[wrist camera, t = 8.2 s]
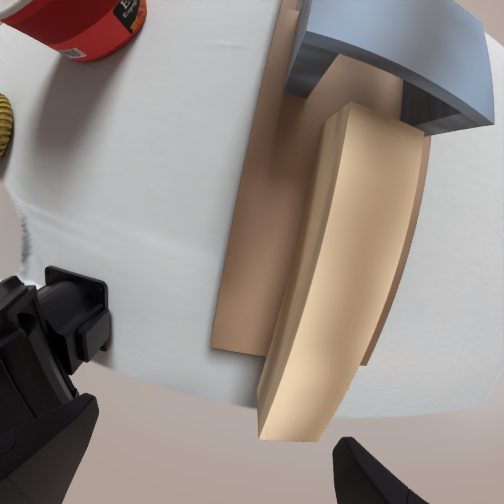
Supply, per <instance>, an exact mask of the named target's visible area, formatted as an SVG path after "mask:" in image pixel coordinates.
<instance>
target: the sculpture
mask: <svg viewBox="0 0 504 504" xmlns="http://www.w3.org/2000/svg"><path fill="white" fill-rule="evenodd" d="M12 116H13V114H12V108H11V104H10V102H9V100H8V99H7V98H6V96H4V95H2V94H1V93H0V158H1V157H2V155H3V153H4V151H5V149H6V146H7V144H8V143H7V142H8V141H9V137H7V136H5V135H11V132H10V131H11V129H12V123H13V121H12V118H13V117H12Z"/></svg>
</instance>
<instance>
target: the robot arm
mask: <svg viewBox="0 0 504 504" xmlns="http://www.w3.org/2000/svg"><path fill="white" fill-rule="evenodd" d="M49 270H50V271H49ZM50 272H51V273H50ZM45 282H46V285H45V286H43V287H42V288H40V289H38V290H37V289H36V285H29V286H24V283H22V282H21V281H20V280H19V278H18V277H17V276H11V277H9V278H7V279H5V280H3V281H1V282H0V504H62V502H63V499H64V497H65V495H66V493H67V490H68V488H69V486H70V483H71V481H72V479H73V477H74V475H75V472H76V470H77V468H78V466H79V464H80V462H81V460H82V458H83V456H84V454H85V451H86V449H87V447H88V444H89V442H90V439H91V436H92V433H93V430H94V427H95V424H96V421H97V418H98V415H99V408H98V404H97V399H96V397H95V396H93V395H91V394H88V393H84V394H82V395H80V396H79V393H78V391H77V389H76V388H75V387H74V385H73V383H72V381H71V380H70V378H69V376H68V375H72V374H74V372H75V371H76V370H77V369H78V367H79V366H80V365H81V364H82V362H83V361H84V362H86V363H87V362H89V361H90V360H91V359H92V357H93V356H94V355H95V354H96V353H97V351H98V350H101V351H106V350H107V349H108V348H109V337H110V324H109V310H108V308H107V285H106V283H105V282H104V281H101V280H98V279H94V278H91V277H87V276H84V275H80V274H77V273H73V272H70V271H67V270H64V269H60V268H57V267H54V266H48V267H46V268H45ZM99 285H100V286H101V287H102V289H100V287H99ZM103 345H104V346H105V347H104V346H103ZM332 455H333V471H334V486H335V492H336V498H337V504H429V503H427V502H426V501H424V500H423V499H422V498H420V497H419V496H418V495H417V494H415V493H414V492H413V491H412V490H410V489H408V487H407V486H406V485H405V484H404V483H402V482H401V481H400V480H399V479H398V478H397V477H395V476H394V475H393V474H392V473H391V472H390V471H389V470H388V469H387V468H385V467H384V466H383V465H382V464H381V463H380V462H379V461H378V460H377V459H375V458H374V457H373V456H372V455H371V454H370V453H369V452H368V451H367V450H366V449H365V448H364V447H363V446H362V445H361V444H360V443H358V442H357V441H356V440H355V439H354V438H353V437H342V438H341V439H340V440H339V442H338V443H337V445H336V446H335V447H334V449H333V453H332Z"/></svg>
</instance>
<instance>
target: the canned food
mask: <svg viewBox="0 0 504 504" xmlns="http://www.w3.org/2000/svg"><path fill="white" fill-rule="evenodd" d="M146 14H147V7H146V0H0V21H1V22H4V23H5V24H7V25H9V26H11V27H13V28H15V29H17V30H19V31H21V32H23V33H25V34H27V35H28V36H30V37H32V38H34V39H36V40H38V41H40V42H41V43H43V44H45V45H47V46H49V47H50V48H52V49H54V50H56V51H57V52H59V53H61V54H63V55H64V56H66V57H68V58H70V59H72V60H74V61H84V62H89V61H95V60H99V59H102V58H104V57H106V56H109V55H110V54H112V53H114V52H116V51H117V50H119V49H120V48H121V47H123V46H124V45H125V44H126V43H128V42H129V41H130V40H131V39H132V38H133V37H134V36H135V35H136V34H137V32H138V31H139V29H140V28H141V27H142V25H143V23H144V21H145V18H146Z"/></svg>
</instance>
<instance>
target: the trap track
mask: <svg viewBox="0 0 504 504" xmlns="http://www.w3.org/2000/svg"><path fill="white" fill-rule="evenodd" d="M349 102H353V103H356V104H359V105H362V106H365V107H367V108H370V109H373V110H375V111H378V112H380V113H383V114H385V115H387V116H390V117H392V118H395V119H397V120H399V121H401V122H404V123H406V124H408V125H410V126H412V127H414V128H417V129H419V130H421V131H423V132H424V141H423V149H422V157H421V164H420V170H419V176H418V182H417V188H416V193H415V198H414V203H413V208H412V212H411V217H410V221H409V225H408V229H407V233H406V237H405V241H404V245H403V248H402V252H401V255H400V259H399V262H398V266H397V269H396V272H395V275H394V278H393V281H392V285H391V288H390V290H389V293H388V296H387V299H386V302H385V305H384V307H383V310H382V313H381V315H380V318H379V321H378V323H377V326H376V328H375V331H374V333H373V336H372V338H371V340H370V343H369V345H368V347H367V350H366V352H365V354H364V356H363V359H362V361H361V363H360V365H362V366H366V365H367V363H368V361H369V359H370V357H371V354H372V352H373V350H374V348H375V346H376V343H377V341H378V339H379V336H380V334H381V331H382V329H383V327H384V324H385V322H386V319H387V317H388V314H389V311H390V309H391V306H392V303H393V300H394V298H395V295H396V292H397V289H398V286H399V283H400V280H401V277H402V274H403V271H404V268H405V264H406V261H407V258H408V254H409V251H410V247H411V243H412V240H413V236H414V232H415V228H416V224H417V219H418V215H419V210H420V206H421V201H422V196H423V191H424V185H425V179H426V173H427V167H428V160H429V152H430V144H431V135H436V134H441V133H446V132H451V131H457V130H463V129H469V128H475V127H481V126H488V125H495V120H494V96H493V84H492V75H491V67H490V60H489V54H488V49H487V44H486V39H485V34H484V30H483V26H482V22H481V21H479V20H478V19H477V18H475V17H474V16H473V15H472V14H471V13H469V12H468V11H467V10H465V9H464V8H462V7H461V6H460V5H458V4H457V3H456V2H454V1H453V0H283V1H282V5H281V8H280V12H279V16H278V20H277V24H276V28H275V32H274V36H273V40H272V44H271V48H270V52H269V56H268V60H267V64H266V69H265V73H264V77H263V81H262V86H261V90H260V94H259V99H258V103H257V107H256V112H255V116H254V121H253V125H252V130H251V135H250V139H249V144H248V148H247V153H246V158H245V163H244V167H243V172H242V177H241V182H240V187H239V192H238V197H237V202H236V207H235V212H234V217H233V222H232V227H231V233H230V238H229V243H228V248H227V254H226V259H225V265H224V270H223V276H222V281H221V287H220V292H219V298H218V304H217V310H216V316H215V321H214V327H213V333H212V339H211V346H210V347H212V348H218V349H223V350H228V351H234V352H240V353H246V354H252V355H259V356H266V357H267V354H268V351H269V347H270V344H271V340H272V337H273V333H274V329H275V326H276V322H277V318H278V315H279V311H280V307H281V304H282V300H283V296H284V292H285V288H286V284H287V280H288V276H289V273H290V269H291V264H292V260H293V256H294V252H295V248H296V244H297V240H298V235H299V231H300V227H301V223H302V218H303V214H304V209H305V205H306V200H307V196H308V191H309V186H310V182H311V177H312V172H313V167H314V162H315V157H316V152H317V147H318V142H319V137H320V131H321V126H322V124H323V123H324V122H325V121H326V120H328V119H329V118H330V117H331V116H333V115H334V114H335V113H337V112H338V111H339V110H340V109H342V108H343V107H344V106H345V105H347V104H348V103H349Z"/></svg>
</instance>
